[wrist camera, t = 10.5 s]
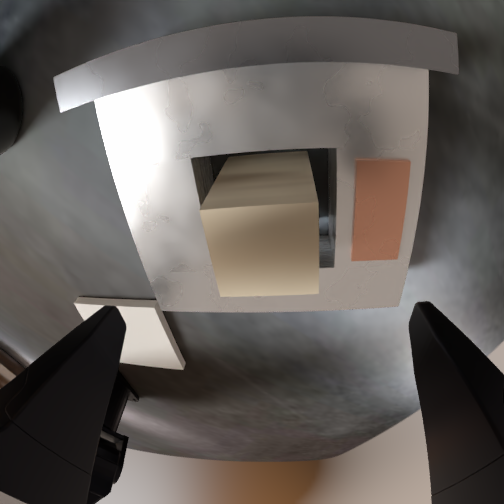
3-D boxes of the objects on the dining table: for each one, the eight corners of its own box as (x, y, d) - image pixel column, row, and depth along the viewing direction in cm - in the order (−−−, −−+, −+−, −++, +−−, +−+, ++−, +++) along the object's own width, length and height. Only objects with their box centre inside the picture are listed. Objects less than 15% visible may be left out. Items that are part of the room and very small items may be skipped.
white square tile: (185, 362, 26) (183, 369, 26) (113, 354, 28) (111, 360, 27) (157, 300, 22) (154, 307, 21) (78, 296, 23) (73, 303, 22)
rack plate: (387, 273, 18) (408, 339, 14) (175, 279, 20) (148, 342, 16) (401, 38, 10) (456, 33, 6) (120, 65, 13) (53, 77, 8)
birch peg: (310, 219, 17) (318, 294, 12) (239, 223, 17) (220, 296, 13) (307, 150, 15) (318, 202, 10) (228, 156, 15) (199, 210, 10)
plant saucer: (74, 409, 43) (68, 424, 40) (15, 388, 47) (9, 399, 44) (3, 334, 32) (-7, 351, 29) (-43, 323, 35) (-51, 334, 33)
